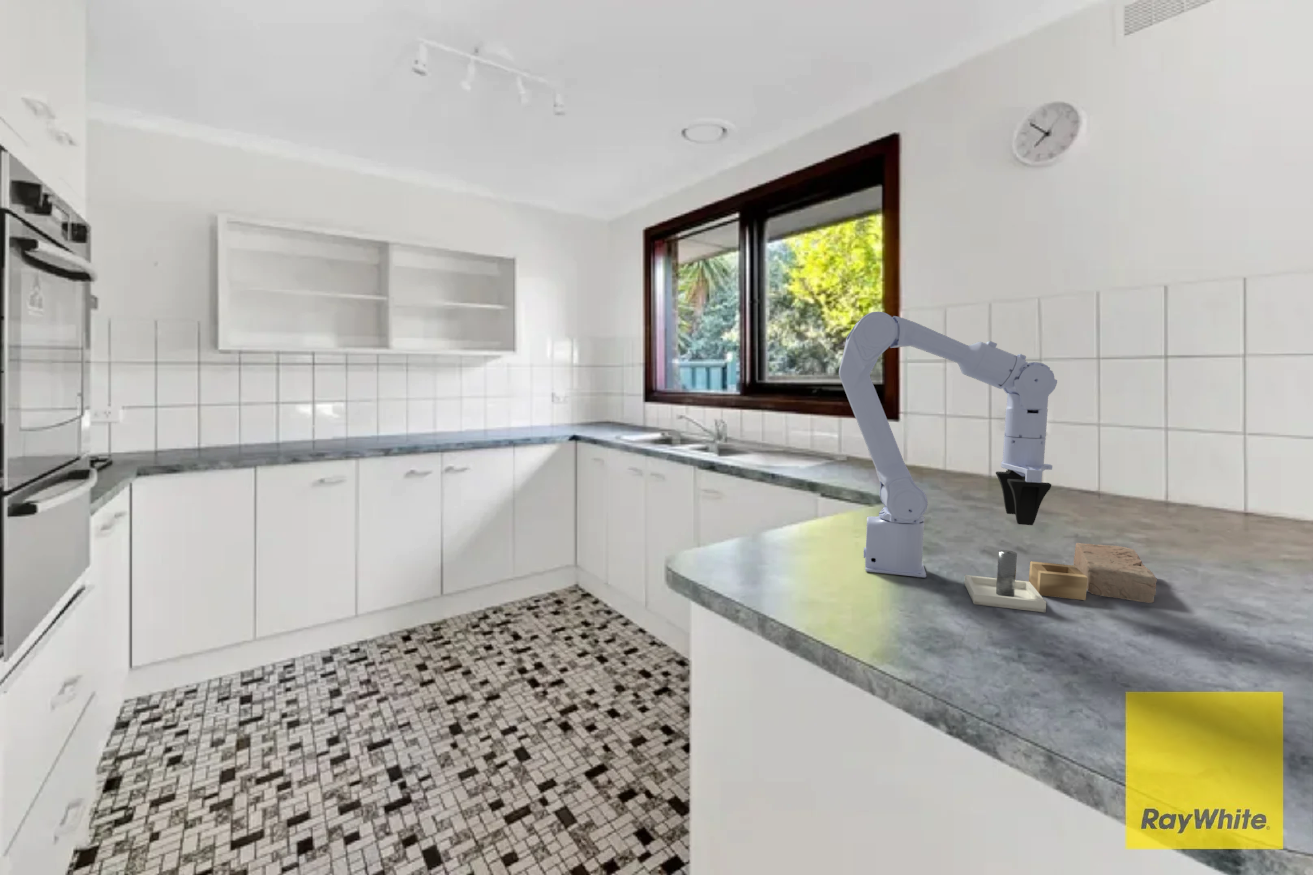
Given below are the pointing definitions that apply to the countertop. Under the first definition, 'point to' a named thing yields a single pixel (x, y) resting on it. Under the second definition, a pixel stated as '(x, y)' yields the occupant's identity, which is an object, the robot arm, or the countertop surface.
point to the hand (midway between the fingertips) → (1019, 518)
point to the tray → (985, 594)
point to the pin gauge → (1006, 573)
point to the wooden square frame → (1058, 580)
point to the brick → (1115, 572)
